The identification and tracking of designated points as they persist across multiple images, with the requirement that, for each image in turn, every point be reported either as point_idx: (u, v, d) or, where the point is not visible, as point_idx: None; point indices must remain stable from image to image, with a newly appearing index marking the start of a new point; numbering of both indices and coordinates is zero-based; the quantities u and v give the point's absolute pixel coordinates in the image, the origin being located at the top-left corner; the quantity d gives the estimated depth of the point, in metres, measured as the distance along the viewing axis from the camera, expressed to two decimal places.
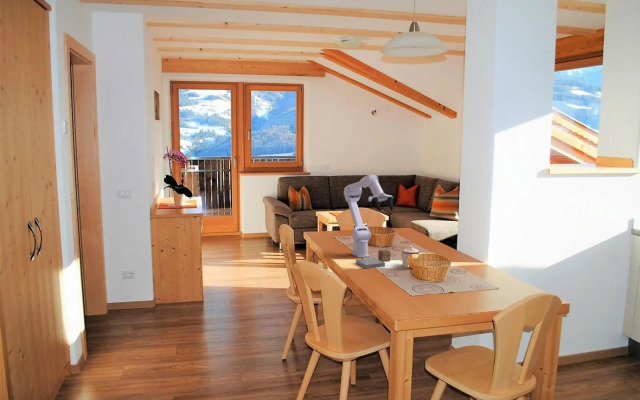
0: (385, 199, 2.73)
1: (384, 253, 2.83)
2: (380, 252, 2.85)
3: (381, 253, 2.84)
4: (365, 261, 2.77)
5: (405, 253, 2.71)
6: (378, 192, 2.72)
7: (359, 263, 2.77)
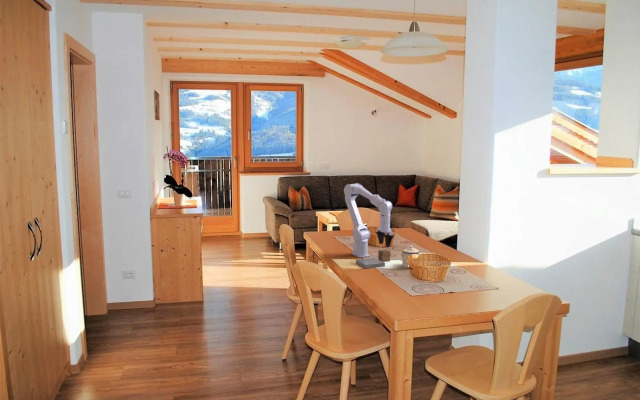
0: (382, 232, 2.87)
1: (384, 253, 2.83)
2: (380, 252, 2.85)
3: (381, 253, 2.84)
4: (365, 261, 2.77)
5: (405, 253, 2.71)
6: (389, 227, 2.84)
7: (359, 263, 2.77)
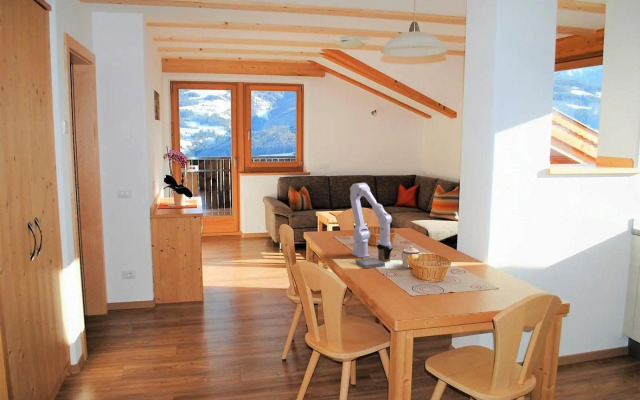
0: (382, 244, 2.88)
1: None
2: (380, 252, 2.85)
3: (381, 253, 2.84)
4: (365, 261, 2.77)
5: (405, 253, 2.71)
6: (389, 240, 2.85)
7: (359, 263, 2.77)
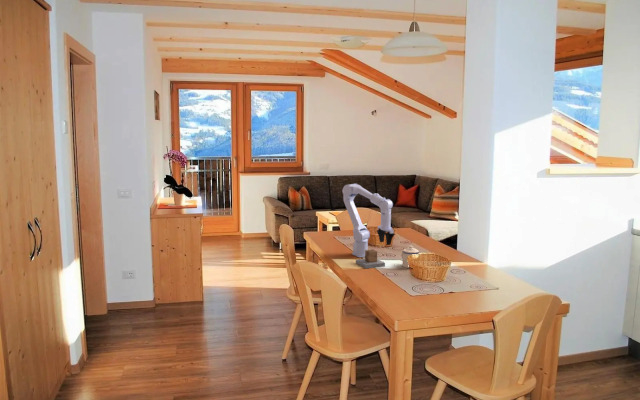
0: (383, 230, 2.88)
1: (371, 253, 2.74)
2: (367, 252, 2.76)
3: (368, 254, 2.75)
4: (365, 261, 2.77)
5: (405, 253, 2.71)
6: (390, 225, 2.85)
7: (359, 263, 2.77)
